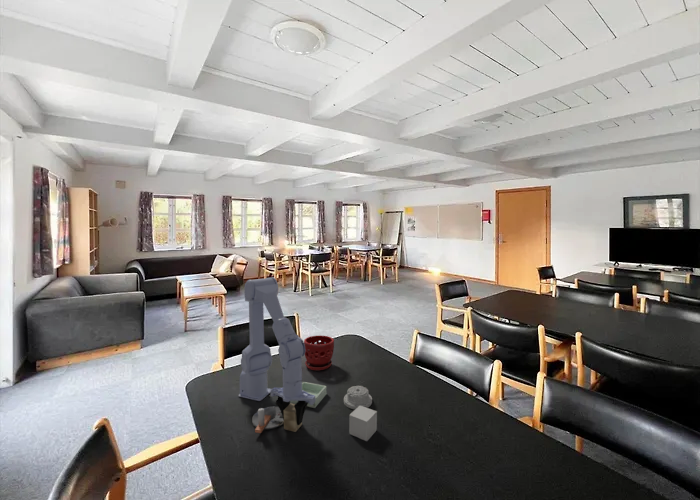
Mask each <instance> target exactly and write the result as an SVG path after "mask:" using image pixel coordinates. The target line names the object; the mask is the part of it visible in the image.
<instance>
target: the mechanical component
mask: <svg viewBox="0 0 700 500" xmlns="http://www.w3.org/2000/svg"><path fill="white" fill-rule="evenodd" d="M347 388H348V387H347ZM343 404H344V406H345V407H346V408H349V409H351V410H355V409H356V408H358V407H359V406H363V407H366V408H369V407H371V405H372V404H373V398H372V396H371V394H369V389H368V388H367V387H364V386H363V385H356V386H355V385H354V386H351V387H349V388H348V389H347V391H346V394H345V395H344V397H343Z"/></svg>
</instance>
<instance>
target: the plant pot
mask: <svg viewBox="0 0 700 500" xmlns="http://www.w3.org/2000/svg"><path fill="white" fill-rule="evenodd" d="M303 342H304V345H305V354H304V357H305V360H306V361H305V363H304V364H305V366H306V368H308V369H309V370H312V371H323V370H327V369H329V368H330V367H331V366H332V364H333V362H332V361H333V360H332V358H333V356H334V351H335V350H334V348H335V339H334V338H333V337H331V336H329V335H311V336H308V337H306V338H304V340H303ZM315 343H316V344H315Z"/></svg>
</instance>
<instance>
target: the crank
mask: <svg viewBox="0 0 700 500" xmlns="http://www.w3.org/2000/svg"><path fill="white" fill-rule="evenodd" d="M267 407H268V408H266V407H265V408H266V409H265V410H264V409H263V407H260V408H258V410H257V411H258V426H257V427H255V429H254V432H255V434H261V433H263V431H264V430H263V429H264V428H265V426H266V425H267V423H268V422H269V420H270V419H272V418H274V417H275V416H276V409H275V408H274V407H273V406H267Z"/></svg>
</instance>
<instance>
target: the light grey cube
mask: <svg viewBox="0 0 700 500" xmlns="http://www.w3.org/2000/svg"><path fill="white" fill-rule="evenodd" d="M348 417H349V419H348V420H349V421H348V422H349V429H348V430H349V435H351V436H354V437H356V438H358V439H360V440H363V441H365V442H368V441H369V440H370V439H371V438H372V436H373V435H374V434H375V433H376V431H377V430H378V424H377V423H378V411H377V410H374V409H371V408H369V407H368V408H366V407H363V406H359V407H358V408H356V409H353V411H352V412H351V413H350V414H349V415H348Z"/></svg>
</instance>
